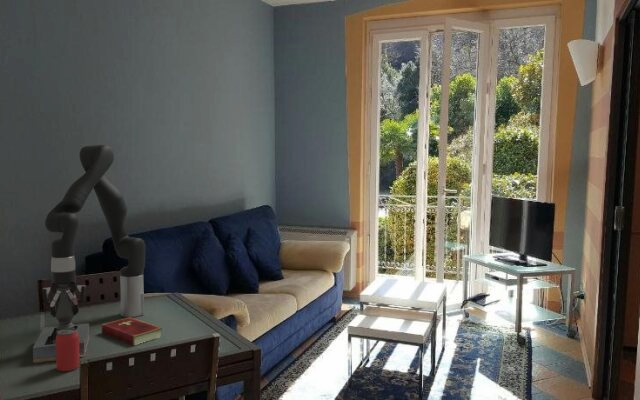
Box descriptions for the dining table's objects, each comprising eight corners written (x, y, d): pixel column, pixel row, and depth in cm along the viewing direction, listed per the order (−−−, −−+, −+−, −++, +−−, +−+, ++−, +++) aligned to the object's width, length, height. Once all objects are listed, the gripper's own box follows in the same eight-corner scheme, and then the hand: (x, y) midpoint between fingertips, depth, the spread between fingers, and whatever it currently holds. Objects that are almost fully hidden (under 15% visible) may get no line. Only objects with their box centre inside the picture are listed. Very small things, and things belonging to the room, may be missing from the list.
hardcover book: (133, 347, 176) (133, 335, 176) (101, 334, 189) (101, 323, 189) (162, 338, 186) (162, 327, 186) (129, 326, 198) (129, 316, 198)
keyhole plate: (89, 336, 185) (89, 323, 185) (84, 357, 166) (84, 342, 165) (44, 340, 180) (43, 327, 180) (33, 362, 161) (32, 347, 160)
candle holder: (67, 343, 173) (64, 272, 171) (51, 342, 174) (49, 272, 172) (79, 337, 179) (77, 269, 177) (64, 335, 180) (61, 268, 178)
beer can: (61, 364, 160) (60, 327, 159) (82, 363, 160) (82, 327, 160) (52, 372, 153) (51, 334, 152) (74, 372, 154) (73, 334, 153)
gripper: (86, 265, 180) (88, 310, 182) (42, 268, 175) (43, 314, 177) (85, 269, 173) (86, 316, 175) (38, 272, 168) (40, 321, 170)
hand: (64, 315), depth 176 cm, fingers closed on candle holder, 6 cm apart
